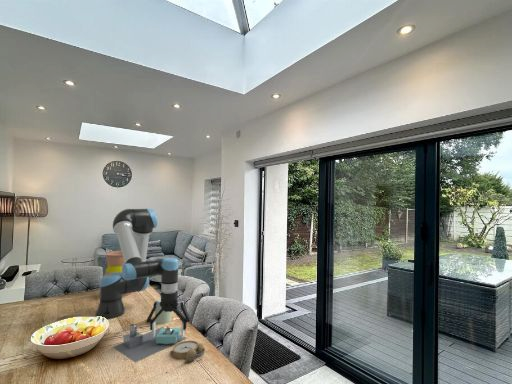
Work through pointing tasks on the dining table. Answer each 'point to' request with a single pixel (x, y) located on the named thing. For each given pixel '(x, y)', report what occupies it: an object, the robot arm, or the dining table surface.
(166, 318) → the can
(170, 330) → the bell
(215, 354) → the dining table surface
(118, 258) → the vase
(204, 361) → the dining table surface
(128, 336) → the stand
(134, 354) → the mat
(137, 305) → the dining table surface
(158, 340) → the teal square collar
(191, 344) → the alarm clock
